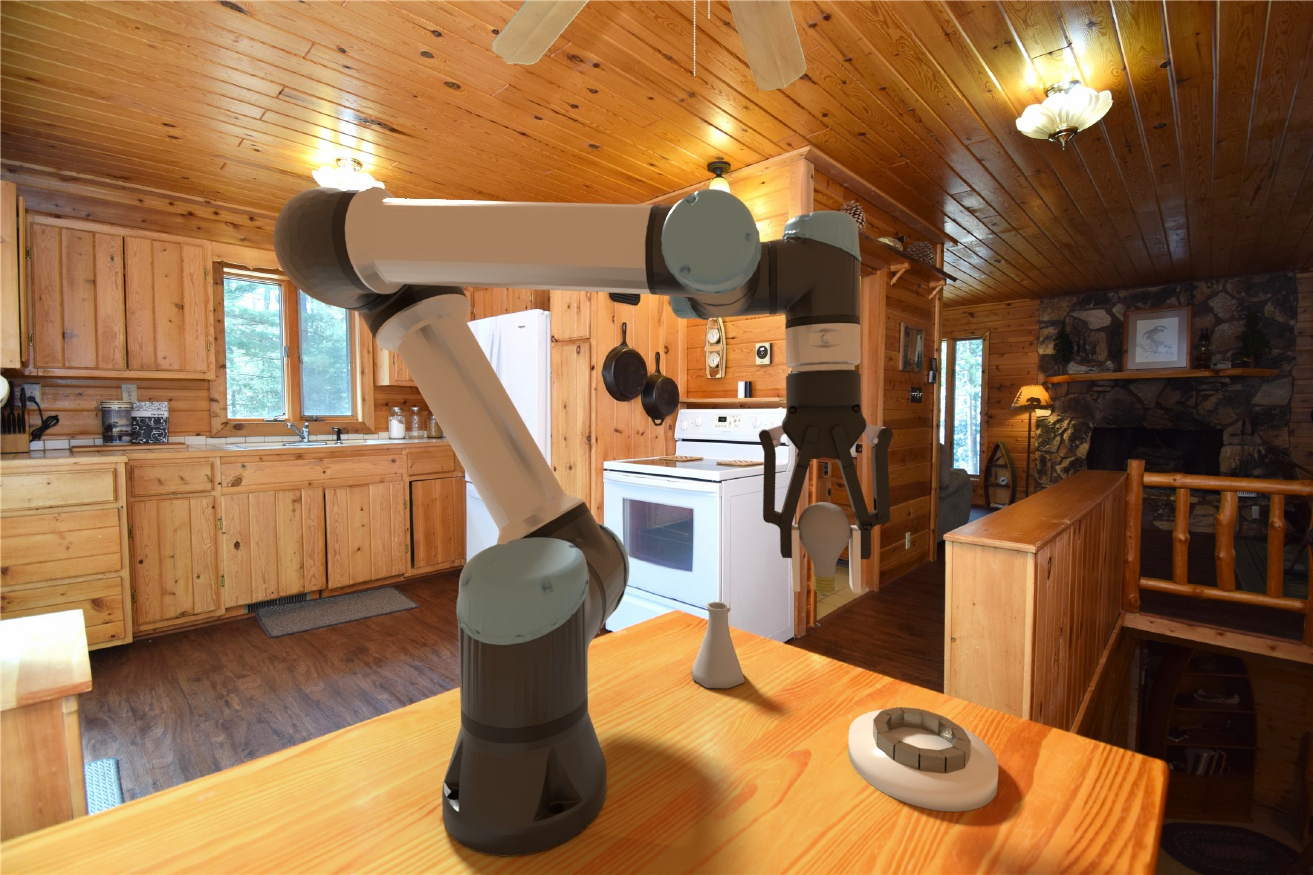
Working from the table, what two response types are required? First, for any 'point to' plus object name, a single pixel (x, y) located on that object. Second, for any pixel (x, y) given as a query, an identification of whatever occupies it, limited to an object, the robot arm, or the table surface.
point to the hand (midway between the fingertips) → (825, 587)
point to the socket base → (918, 786)
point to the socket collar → (921, 757)
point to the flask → (717, 652)
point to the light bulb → (824, 541)
